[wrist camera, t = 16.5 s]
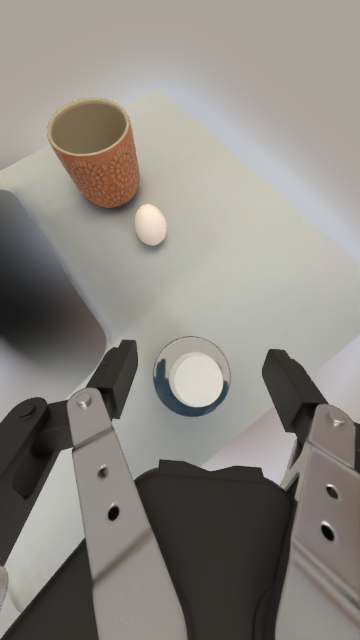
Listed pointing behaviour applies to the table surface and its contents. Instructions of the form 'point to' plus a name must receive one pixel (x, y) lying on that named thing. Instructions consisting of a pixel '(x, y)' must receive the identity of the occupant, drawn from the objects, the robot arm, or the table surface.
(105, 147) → the planter
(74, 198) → the table surface
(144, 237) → the egg
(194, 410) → the cup
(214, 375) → the pill bottle
